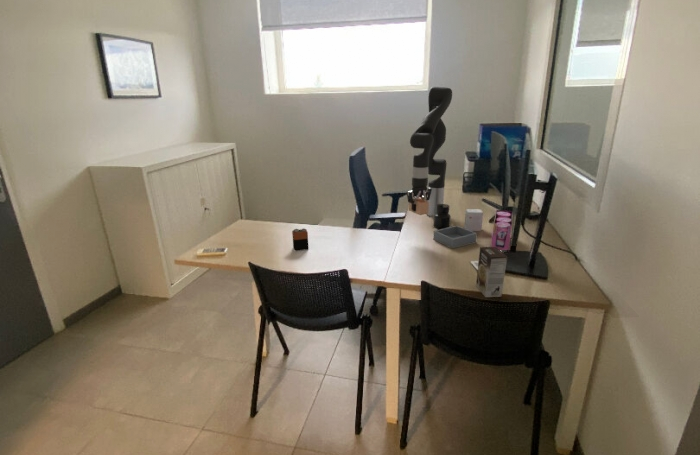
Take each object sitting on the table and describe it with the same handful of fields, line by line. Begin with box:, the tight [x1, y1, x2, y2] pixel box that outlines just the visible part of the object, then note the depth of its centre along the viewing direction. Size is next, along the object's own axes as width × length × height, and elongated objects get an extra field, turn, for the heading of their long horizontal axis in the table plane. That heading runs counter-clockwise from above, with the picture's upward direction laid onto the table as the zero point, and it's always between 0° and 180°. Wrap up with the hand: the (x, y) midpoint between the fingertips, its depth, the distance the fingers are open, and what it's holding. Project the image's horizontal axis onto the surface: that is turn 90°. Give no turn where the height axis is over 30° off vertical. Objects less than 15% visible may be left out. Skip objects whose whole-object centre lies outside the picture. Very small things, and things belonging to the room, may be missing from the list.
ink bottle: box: [432, 203, 451, 230], centre depth 205 cm, size 10×9×12 cm
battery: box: [291, 228, 309, 252], centre depth 179 cm, size 4×7×10 cm, turn 105°
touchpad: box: [470, 260, 479, 271], centre depth 157 cm, size 8×15×2 cm, turn 3°
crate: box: [432, 225, 478, 249], centre depth 187 cm, size 13×15×5 cm
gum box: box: [490, 209, 513, 251], centre depth 181 cm, size 24×8×14 cm, turn 157°
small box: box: [463, 208, 484, 232], centre depth 201 cm, size 8×6×10 cm
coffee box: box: [475, 246, 508, 298], centre depth 138 cm, size 9×6×16 cm
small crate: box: [408, 197, 429, 216], centre depth 185 cm, size 9×5×6 cm, turn 30°
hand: (418, 209), depth 186 cm, fingers closed on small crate, 5 cm apart
